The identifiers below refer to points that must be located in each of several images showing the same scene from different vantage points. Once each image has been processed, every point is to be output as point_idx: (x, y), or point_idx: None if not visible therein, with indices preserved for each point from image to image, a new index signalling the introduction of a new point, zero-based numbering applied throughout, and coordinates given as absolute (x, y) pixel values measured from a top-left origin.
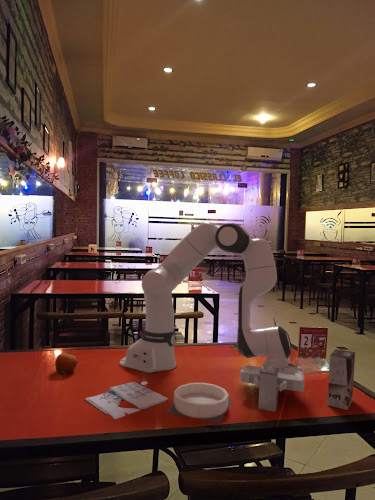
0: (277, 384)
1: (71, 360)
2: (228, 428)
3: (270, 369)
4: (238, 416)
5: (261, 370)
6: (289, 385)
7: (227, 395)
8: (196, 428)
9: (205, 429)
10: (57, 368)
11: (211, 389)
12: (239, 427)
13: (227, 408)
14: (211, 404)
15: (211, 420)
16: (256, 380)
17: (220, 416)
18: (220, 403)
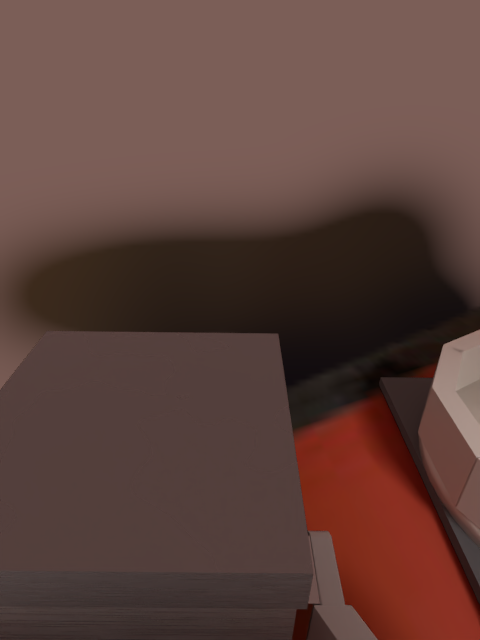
0: None
1: None
2: (334, 377)
3: (121, 412)
4: (346, 477)
5: (258, 348)
6: None
7: (476, 447)
8: (431, 349)
9: (402, 353)
10: None
11: None
12: (298, 394)
13: (447, 511)
14: (453, 340)
15: (420, 383)
16: (338, 579)
17: (412, 418)
18: (435, 372)
